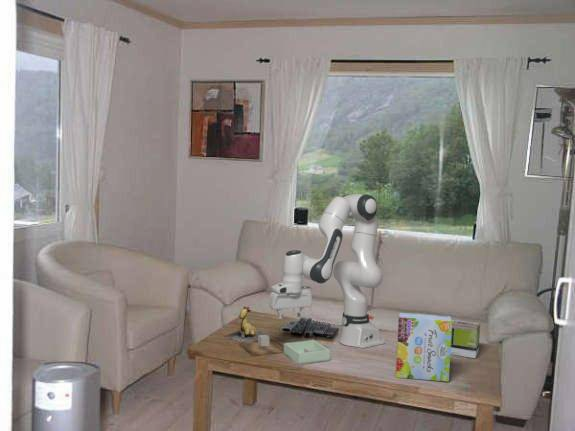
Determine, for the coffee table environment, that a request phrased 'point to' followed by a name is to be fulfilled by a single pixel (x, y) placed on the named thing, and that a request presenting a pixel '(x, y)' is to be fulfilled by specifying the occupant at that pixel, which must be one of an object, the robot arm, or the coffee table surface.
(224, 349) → the coffee table surface
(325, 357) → the green bin
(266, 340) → the stone cube
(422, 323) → the snack box
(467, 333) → the tea box
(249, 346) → the walnut tray
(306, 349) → the stone cube
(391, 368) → the coffee table surface
